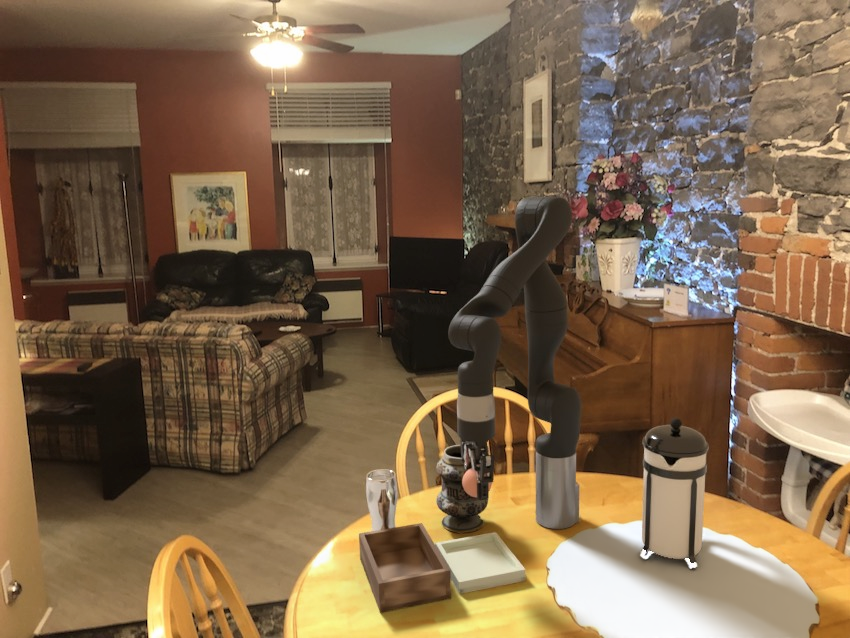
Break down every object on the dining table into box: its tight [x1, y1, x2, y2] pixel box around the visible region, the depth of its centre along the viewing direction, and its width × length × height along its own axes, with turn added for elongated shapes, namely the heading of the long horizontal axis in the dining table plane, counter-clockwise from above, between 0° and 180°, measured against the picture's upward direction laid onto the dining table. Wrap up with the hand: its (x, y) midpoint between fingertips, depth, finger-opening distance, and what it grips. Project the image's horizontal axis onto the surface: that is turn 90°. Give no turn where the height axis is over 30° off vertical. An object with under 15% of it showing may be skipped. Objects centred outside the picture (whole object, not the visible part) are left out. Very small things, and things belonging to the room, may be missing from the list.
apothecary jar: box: [435, 444, 489, 534], centre depth 162 cm, size 12×12×18 cm
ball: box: [462, 468, 493, 497], centre depth 141 cm, size 6×6×6 cm
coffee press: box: [641, 417, 710, 563], centre depth 146 cm, size 17×16×30 cm
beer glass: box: [365, 468, 398, 532], centre depth 157 cm, size 7×7×15 cm
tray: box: [434, 531, 526, 594], centre depth 144 cm, size 14×16×2 cm
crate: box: [358, 522, 452, 614], centre depth 141 cm, size 14×20×6 cm
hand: (477, 492), depth 142 cm, fingers closed on ball, 6 cm apart
